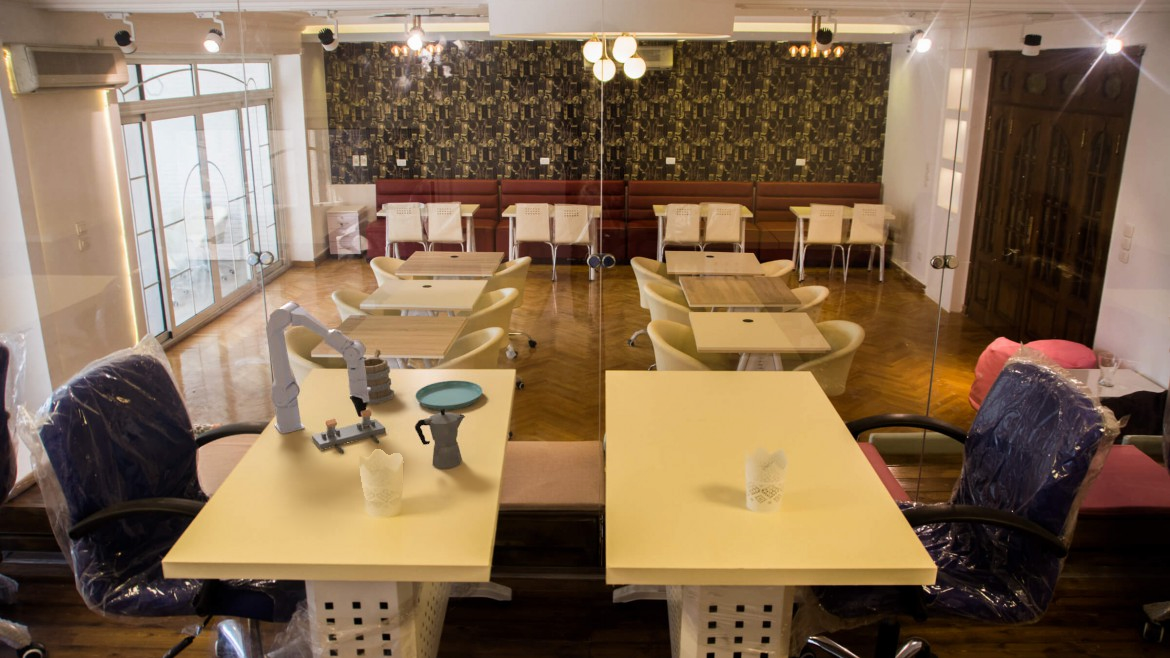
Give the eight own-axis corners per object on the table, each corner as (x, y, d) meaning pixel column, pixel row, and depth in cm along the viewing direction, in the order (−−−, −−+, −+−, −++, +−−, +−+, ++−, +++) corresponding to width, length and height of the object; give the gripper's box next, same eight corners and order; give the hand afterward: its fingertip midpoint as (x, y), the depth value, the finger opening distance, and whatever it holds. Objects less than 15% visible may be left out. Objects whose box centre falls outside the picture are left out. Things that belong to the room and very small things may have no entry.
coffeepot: (464, 453, 283) (460, 400, 278) (471, 465, 274) (467, 410, 269) (416, 462, 278) (410, 408, 273) (421, 474, 270) (416, 419, 264)
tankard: (389, 403, 326) (385, 364, 321) (354, 404, 326) (349, 365, 321) (400, 384, 345) (396, 347, 340) (368, 385, 345) (363, 348, 341)
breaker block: (312, 440, 296) (311, 430, 295) (376, 424, 307) (375, 414, 306) (327, 457, 284) (326, 446, 282) (393, 439, 295) (392, 429, 294)
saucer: (406, 412, 318) (405, 403, 317) (428, 387, 341) (427, 379, 340) (472, 414, 314) (471, 405, 313) (490, 389, 337) (489, 381, 336)
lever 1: (325, 434, 295) (325, 421, 291) (334, 432, 296) (334, 418, 292) (327, 438, 294) (327, 424, 289) (336, 435, 295) (336, 422, 291)
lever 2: (360, 425, 301) (360, 411, 297) (369, 423, 302) (369, 409, 299) (362, 429, 300) (362, 414, 296) (371, 426, 301) (371, 412, 297)
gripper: (376, 381, 295) (380, 419, 299) (361, 369, 306) (365, 406, 310) (355, 386, 291) (360, 424, 295) (341, 374, 303) (345, 411, 307)
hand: (361, 415), depth 302 cm, fingers closed
